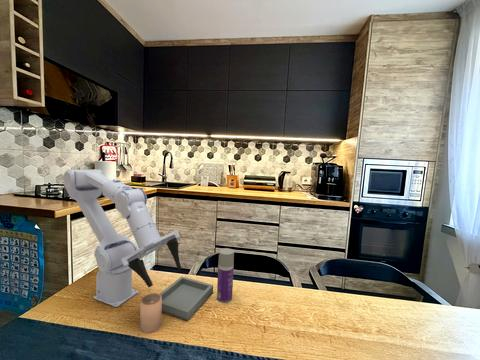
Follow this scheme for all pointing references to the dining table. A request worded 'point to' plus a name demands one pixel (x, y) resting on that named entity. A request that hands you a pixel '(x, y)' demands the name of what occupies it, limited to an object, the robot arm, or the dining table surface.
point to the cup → (150, 313)
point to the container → (225, 275)
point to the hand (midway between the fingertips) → (165, 277)
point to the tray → (185, 297)
